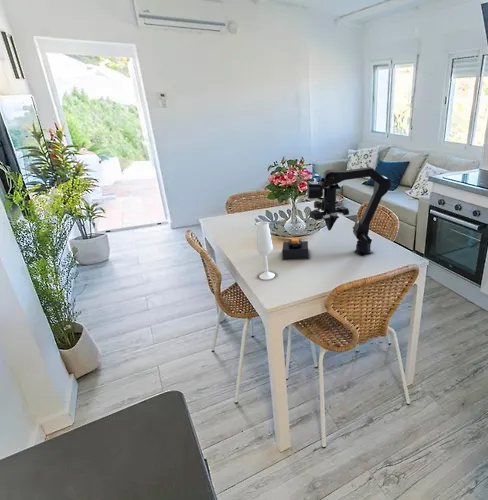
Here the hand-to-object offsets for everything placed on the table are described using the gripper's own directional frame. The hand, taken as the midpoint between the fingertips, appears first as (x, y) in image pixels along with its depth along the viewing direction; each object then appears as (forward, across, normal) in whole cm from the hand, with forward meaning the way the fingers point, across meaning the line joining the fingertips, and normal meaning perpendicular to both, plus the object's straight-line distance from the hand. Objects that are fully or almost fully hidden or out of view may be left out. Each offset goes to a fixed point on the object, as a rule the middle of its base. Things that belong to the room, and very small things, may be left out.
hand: (329, 230), depth 166 cm
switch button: (+7, +14, -9) cm, 18 cm away
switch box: (+14, +13, -9) cm, 21 cm away
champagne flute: (+14, +34, +4) cm, 37 cm away
